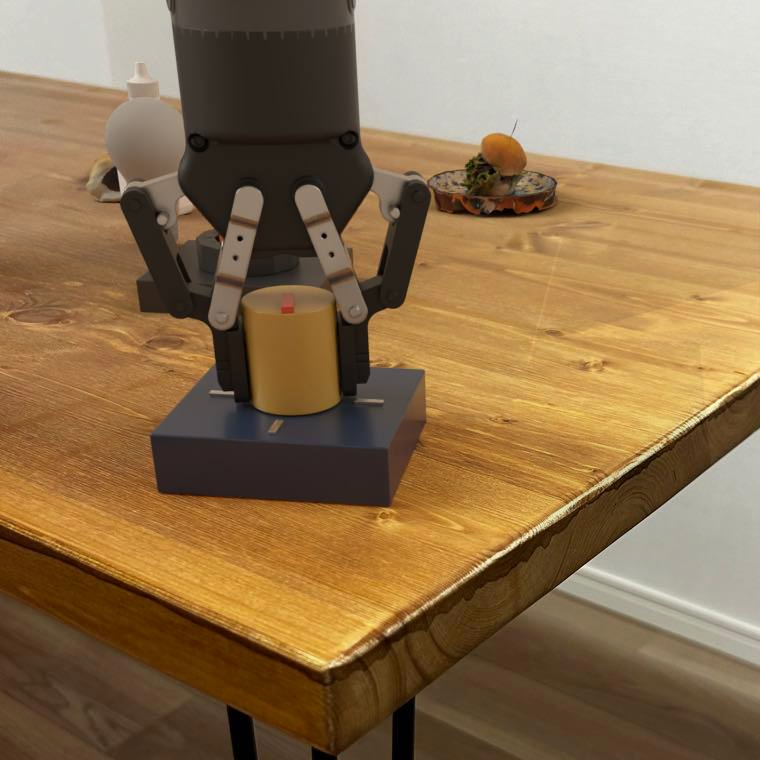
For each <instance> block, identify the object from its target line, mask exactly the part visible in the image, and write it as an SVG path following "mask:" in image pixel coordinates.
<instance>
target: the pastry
mask: <svg viewBox="0 0 760 760" xmlns="http://www.w3.org/2000/svg"><path fill="white" fill-rule="evenodd" d="M85 188H86V190H87V192H88V193H89V194H90V195H91V196H92V198H93V199H94V200H96V201H97V202H101V203H103V202H112V203H117V202H120V200H121V192H120V185H119V178H118V171H117V168H116V166H115V165H114V163H113V161H112V160H111V158H110V156H109V154H108V153H105V154H103V155H101V156H100V157H98V158H95V160H94V161H93V162H92V164H91V166H90V168H89V179H88V181H87V182H86V185H85Z"/></svg>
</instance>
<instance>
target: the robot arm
mask: <svg viewBox="0 0 760 760" xmlns="http://www.w3.org/2000/svg"><path fill="white" fill-rule="evenodd" d="M165 2H166V7H167V10H168V11H169V14H170V21H171V23H170V24H171V30H172V39H173V46H174V47H173V48H174V56H175V62H176V63H175V64H176V71H177V72H176V73H177V80H178V88H179V97H180V105H181V115H182V117H183V124H184V132H185V152H184V155H183V157H182V159H181V161H180V165H179V169H178V171H177V172H173V173H170V174H167V175H164V176H161V177H158V178H155V179H151V180H148V181H146V180H144V179H141V178H135V179H132V180H130V181H129V182H128V183H127V185H126V187H125V188H124V191H123V193H122V197H121V200H120V201H119V206H120V210H121V212H122V214H123V216H124V218H125V220H126V221H125V222H126V223H127V225H128V227H129V229H130V232H131V234H132V236H133V239H134V241H135V244H136V245H137V247H138V249H139V252H140V254H141V257H142V258H143V261H144V263H145V265H146V267H147V269H148V271H149V272H150V274H151V276H152V278H153V281H154V283H155V285H156V287H157V289H158V292H159V294H160V296H161V298H162V300H163V303H164V305H165V307H166V309H167V311H168V313H169V314H168V313H167V314H168V315H170V316H171V317H172V318H174V319H177V320H185V319H188V318H189V319H193V320H196V321H199V322H202V323H204V324H205V325H206V326H207V327H208V328H209V330H210V332H211V335H212V345H213V353H214V362H215V363H216V370H217V379H218V383H219V385H220V387H221V389H222V390H223V392H229V391H234V399H235V403H243V402H250V393H249V383H248V373H247V363H246V353H245V343H244V333H243V323H242V316H238V306H239V302H240V297H241V293H242V289H243V286H244V283H245V279H246V274H247V270H248V266H249V261H250V259H267V258H271V257H274V256H277V255H281V254H288V255H293V256H297V257H318V258H319V261H320V263H321V266H322V268H323V271H324V273H325V276H326V278H327V280H328V282H329V284H330V286H331V288H332V291H333V293H334V296H335V298H336V302H337V307H338V309H339V310H337V319H338V336H339V353H340V370H341V386H342V394H343V396H357V384H366V383H367V381H368V378H369V376H370V367H371V361H370V342H369V322H370V321H371V318H372V317H373V316H374V315H375V314H377V313H379V312H382V311H384V310H387V309H389V310H396V309H399V308H400V307H402V306H403V305H404V304H405V300H406V299H407V294H408V290H409V286H410V283H411V278H412V275H413V271H414V267H415V262H416V259H417V256H418V251H419V248H420V243H421V240H422V236H423V232H424V228H425V225H426V220H427V216H428V213H429V210H430V206H431V202H432V193H431V190H430V188H428V186H427V181H426V180H425V178H424V177H423V175H422V174H421V173H419V172H418V171H414V170H409V171H406V172H404V173H403V174H402V173H398V172H394V171H390V170H387V169H382V168H378V167H376V166H373V164H372V161H371V159H370V157H369V155H368V154H367V152H366V151H365V149H364V147H363V143H362V137H361V136H362V135H361V121H360V119H361V118H360V102H359V101H360V100H359V82H358V66H357V65H358V62H357V43H356V42H357V40H356V21H355V12H356V11H355V9H356V7H357V0H165ZM370 192H372V193H373V194H375V195H376V196H377V197H378V208H379V212H380V215H381V217H382V218H383V219H384V220H385V221H386V222H388V226H387V231H386V235H385V238H384V243H383V247H382V251H381V254H380V258H379V263H378V267H377V271H376V275H375V276H373V277H370V278H367V279H365V280H363V281H360V280H359V277H358V275H357V272H356V270H355V267H354V264H353V265H352V262H351V259H350V256H349V253H348V251H347V248H348V247H347V245H346V243H345V240H344V238H343V236H342V234H343V233H344V231H345V229H346V228H347V226H348V225H349V223H350V222H351V221H352V219H353V217H354V216H355V214H356V213H357V211H358V210H359V209H360V207H361V205H362V203H363V202H364V201H365V199H366V198H367V196H368V195H369V193H370ZM183 196H186V197H187V198H188V199H189V201H190V202H191V203H192V204H193V207H195V209H196V210H197V211H198V212H199V213H200V215H202V217H203V218H204V219H205V221H207V223H208V224H209V225H210V226H211V227H212V229H215V230H216V231H217V232H218V233H219V235H220V236H221V237H222V238H223V240H222V244H221V249H220V254H219V259H218V264H217V269H216V273H215V278H214V283H213V287H212V288H209V287H205V286H202V285H199V284H195V283H193V281H192V278H191V276H190V274H189V271H188V269H187V267H186V264H185V262H184V260H183V258H182V255H181V253H180V251H179V246H178V244H177V241H175V239H174V237H173V234H172V232H171V230H170V229H171V228H172V227H173V226H174V225H175V224H176V222H177V219H178V218H179V216H178V207H177V202H178V200H179V199H180V198H181V197H183Z"/></svg>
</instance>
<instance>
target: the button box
mask: <svg viewBox="0 0 760 760" xmlns="http://www.w3.org/2000/svg"><path fill="white" fill-rule="evenodd" d="M221 244H222V243H221V242H220V238H219V233H218V232H217V231H216V230H215V229H214V228H211V229H208V230H204V231H203V232H202V233H200V234H199V235H198V236H196V237H195V239H188V240H187V241H185V242H184V243H183V244H182V245H180V246H178V248H179V251H180V253H181V255H182V258H183V260H184V262H185V264H186V267H187V269H188V271H189V274H190V276H191V278H192V281H193V283H195V284H199V285H202V286H205V287H209V288H212V287H213V283H214V278H215V273H216V269H217V264H218V259H219V254H220V249H221ZM346 248H347V251H348V253H349V256H350V259H351V262H352V265H353V266H354V250H353V248H352V247H346ZM135 283H136V289H137V296H138V297H137V298H138V303H139V310H140V311H139V312H140V313H149V314H168V315H170V314H169V313H168V311H167V309H166V307H165V305H164V303H163V300H162V298H161V296H160V294H159V292H158V289H157V287H156V285H155V283H154V281H153V278H152V276H151V274H150V272H149V270H148V271H146V272H145V273H144V274H142V275H141V276H139V277H138V278H137V279H136V281H135ZM284 285H302V286H312V287H317V288H321V289H325V290H327V291H330V292H331V293H333V291H332V288H331V286H330V284H329V282H328V280H327V278H326V276H325V273H324V271H323V268H322V266H321V263H320V261H319V258H318V257H297V256H293V255H288V254H281V255H277V256H274V257H271V258H267V259H250V261H249V266H248V270H247V274H246V279H245V283H244V286H243V289H242V293H241V297H240V302H239V306H238V316H242V313H241V299H242V298H243V297H244V296H245V295H246V294H248V293H250V292H253V291H255V290H259V289H263V288H267V287H274V286H284ZM333 294H334V293H333Z"/></svg>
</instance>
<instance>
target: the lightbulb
mask: <svg viewBox="0 0 760 760" xmlns="http://www.w3.org/2000/svg"><path fill="white" fill-rule="evenodd" d="M104 142H105V148H106V151H107V154H109V156H110V158H111V160H112V161H113V163H114V165H115V166H116V168H117V169H118V171H119V172H120V174H121V175H122V176H123V178H124V179H125V181H126V183H128V182H129V181H130V180H132V179H135V178H141V179H144V180H146V181H148V180H151V179H155V178H158V177H161V176H164V175H167V174H170V173H173V172H177V171H178V169H179V165H180V161H181V159H182V157H183V155H184V152H185V132H184V124H183V115H182V113H181V112H179V111H178V110H177V109H176V108H175V107H173V106H172V105H171V104H169V103H167V101H163V100H161V99H160V100H159V99H155V98H150V97H138V98H134V99H131V100H129V99H128V100H126V101H124V102H123V103H121V104H120V105H119V106H117V107H116V108H115V109H114V110H113V112H112V113H111V114H110V116H109V118H108V119H107V122H106V127H105V131H104ZM177 207H178V213H179V210H180V209H179V200H178V202H177ZM170 230H171V232H172V234H173V237H174V239H175V241H176V242H177V241H178V240H179V222H178V218H177V222H176V224H175V225H174V226H173V227H172V228H171V229H170Z"/></svg>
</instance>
